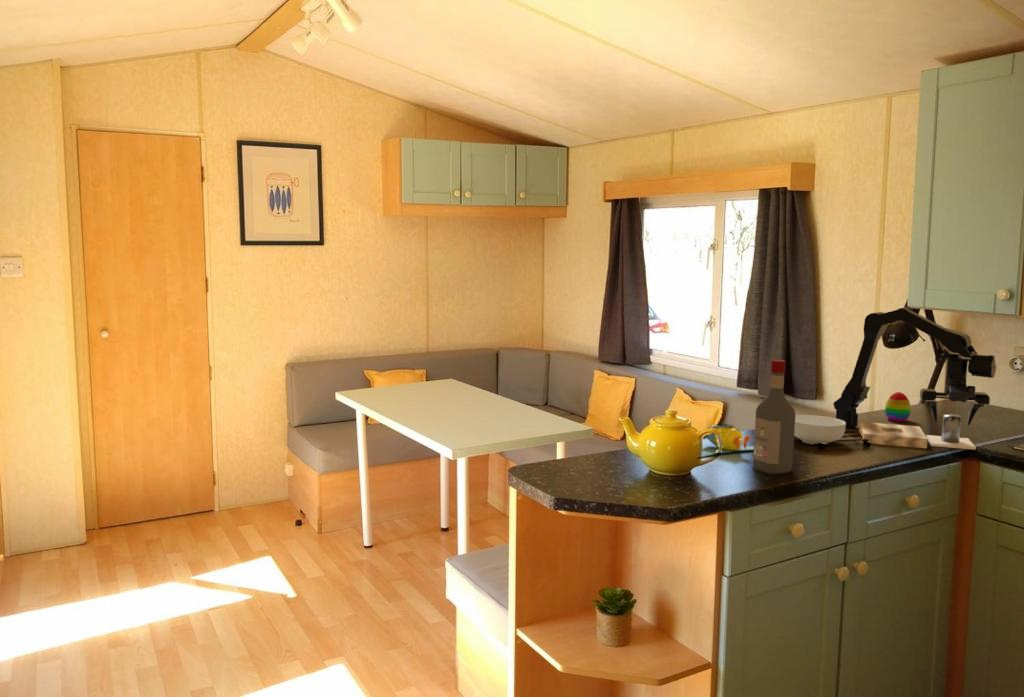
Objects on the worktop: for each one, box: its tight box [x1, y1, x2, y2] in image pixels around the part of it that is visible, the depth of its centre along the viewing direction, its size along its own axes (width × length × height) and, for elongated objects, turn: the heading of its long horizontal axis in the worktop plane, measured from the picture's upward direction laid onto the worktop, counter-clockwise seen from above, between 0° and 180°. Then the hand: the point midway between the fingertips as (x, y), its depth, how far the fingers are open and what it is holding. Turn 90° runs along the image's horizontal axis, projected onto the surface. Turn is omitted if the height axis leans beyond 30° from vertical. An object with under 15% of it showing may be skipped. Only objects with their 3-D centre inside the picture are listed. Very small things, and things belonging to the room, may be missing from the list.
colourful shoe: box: [701, 423, 754, 459], centre depth 252 cm, size 28×9×15 cm
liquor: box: [752, 359, 796, 475], centre depth 231 cm, size 9×9×30 cm
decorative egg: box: [884, 391, 912, 423], centre depth 298 cm, size 8×8×10 cm
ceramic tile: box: [925, 434, 977, 451], centre depth 266 cm, size 12×12×1 cm
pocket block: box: [858, 421, 928, 449], centre depth 270 cm, size 18×18×3 cm
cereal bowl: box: [794, 414, 847, 445], centre depth 265 cm, size 17×17×7 cm
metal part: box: [941, 413, 962, 443], centre depth 266 cm, size 5×5×8 cm
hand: (951, 423), depth 265 cm, fingers open, 9 cm apart
